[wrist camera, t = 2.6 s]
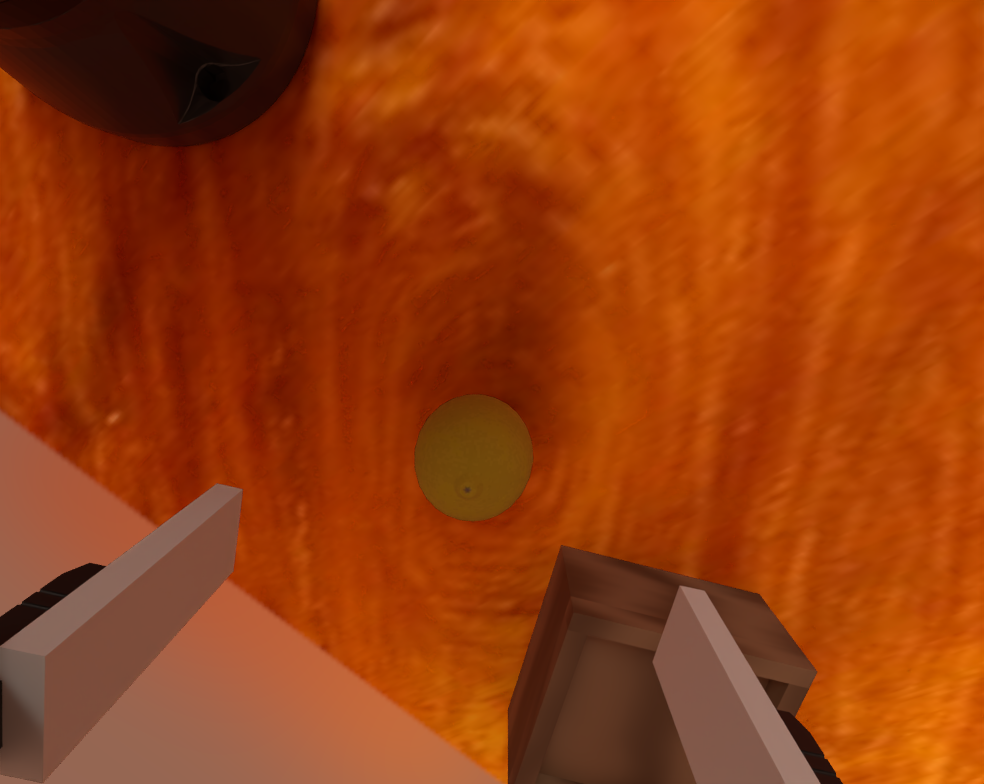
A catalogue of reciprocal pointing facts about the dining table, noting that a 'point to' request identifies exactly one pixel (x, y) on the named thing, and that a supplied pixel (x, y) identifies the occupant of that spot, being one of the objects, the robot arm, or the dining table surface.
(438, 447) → the lemon
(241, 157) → the dining table surface
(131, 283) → the dining table surface
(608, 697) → the walnut block
